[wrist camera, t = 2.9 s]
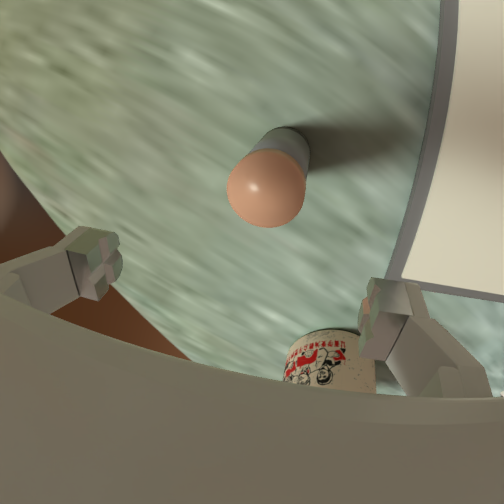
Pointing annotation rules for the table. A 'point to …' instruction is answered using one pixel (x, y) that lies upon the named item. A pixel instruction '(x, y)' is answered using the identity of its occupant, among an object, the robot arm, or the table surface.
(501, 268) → the whiteboard
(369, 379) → the teacup with lid
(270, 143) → the cylinder
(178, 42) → the table surface
